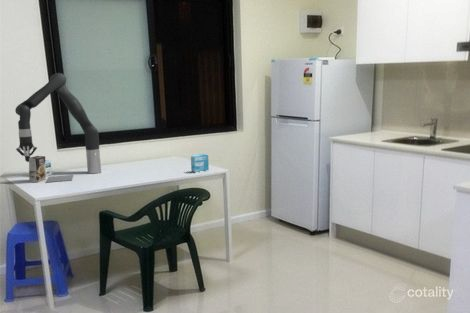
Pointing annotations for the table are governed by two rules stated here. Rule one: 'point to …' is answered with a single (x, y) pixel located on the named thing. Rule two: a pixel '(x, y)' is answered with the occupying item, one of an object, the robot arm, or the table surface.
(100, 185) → the table surface
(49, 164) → the light bulb box
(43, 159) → the coffee box
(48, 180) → the mat
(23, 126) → the robot arm
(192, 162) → the data package
